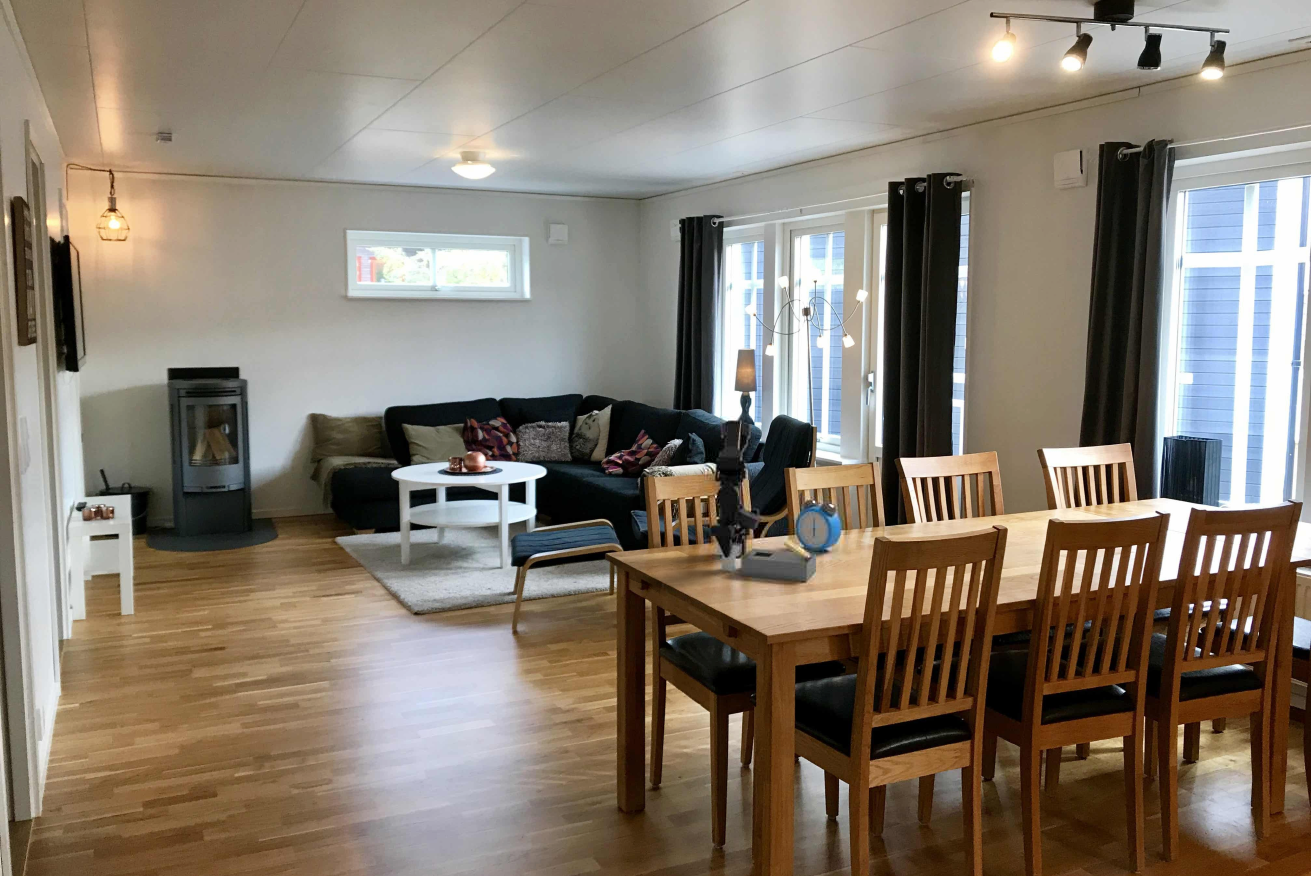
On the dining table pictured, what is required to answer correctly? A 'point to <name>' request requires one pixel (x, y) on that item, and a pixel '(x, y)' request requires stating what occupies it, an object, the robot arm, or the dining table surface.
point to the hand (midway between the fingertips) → (728, 555)
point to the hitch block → (777, 565)
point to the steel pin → (730, 556)
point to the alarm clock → (818, 526)
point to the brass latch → (797, 549)
